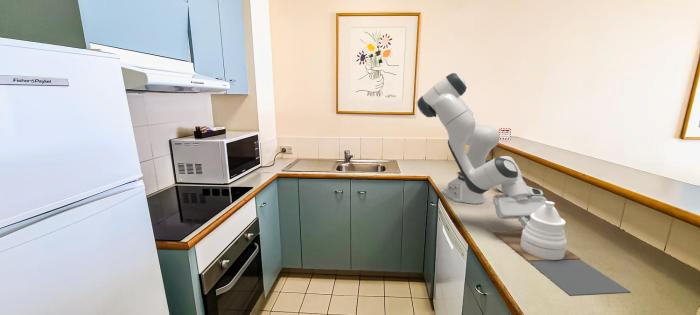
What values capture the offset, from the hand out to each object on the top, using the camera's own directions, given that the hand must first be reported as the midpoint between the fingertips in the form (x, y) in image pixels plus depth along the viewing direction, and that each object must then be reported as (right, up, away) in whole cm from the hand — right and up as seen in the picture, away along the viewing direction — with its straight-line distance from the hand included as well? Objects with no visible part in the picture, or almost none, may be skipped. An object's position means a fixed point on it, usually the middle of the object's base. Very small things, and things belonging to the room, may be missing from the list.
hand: (530, 229), depth 104 cm
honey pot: (+1, -6, -5) cm, 8 cm away
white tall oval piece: (+21, +7, +58) cm, 62 cm away
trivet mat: (+2, -9, -18) cm, 21 cm away
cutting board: (0, -6, -1) cm, 6 cm away
